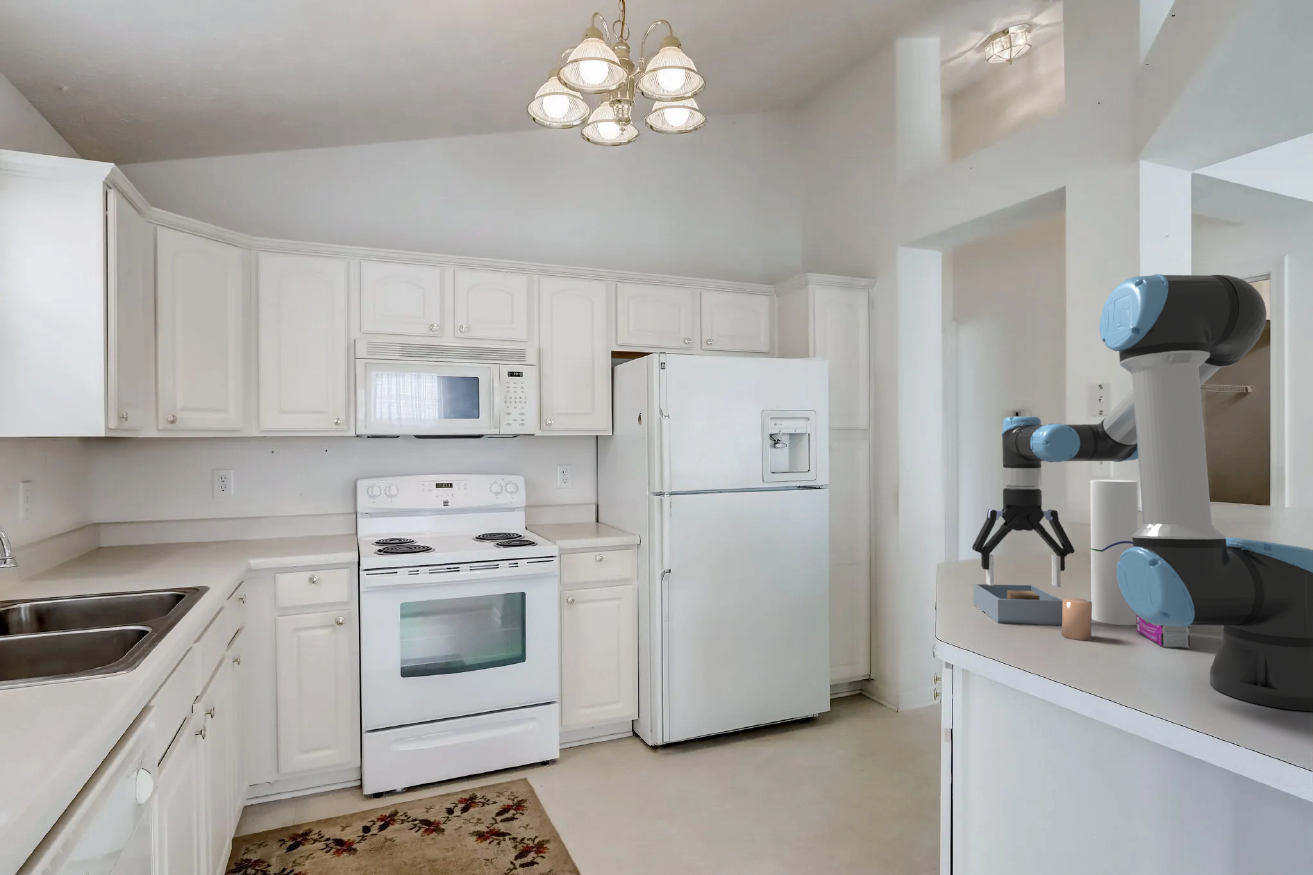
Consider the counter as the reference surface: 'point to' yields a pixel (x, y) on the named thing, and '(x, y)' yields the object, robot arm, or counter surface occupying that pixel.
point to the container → (1111, 546)
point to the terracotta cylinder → (1076, 618)
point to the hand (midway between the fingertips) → (1022, 585)
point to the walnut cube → (1022, 595)
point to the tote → (1018, 605)
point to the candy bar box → (1164, 634)
